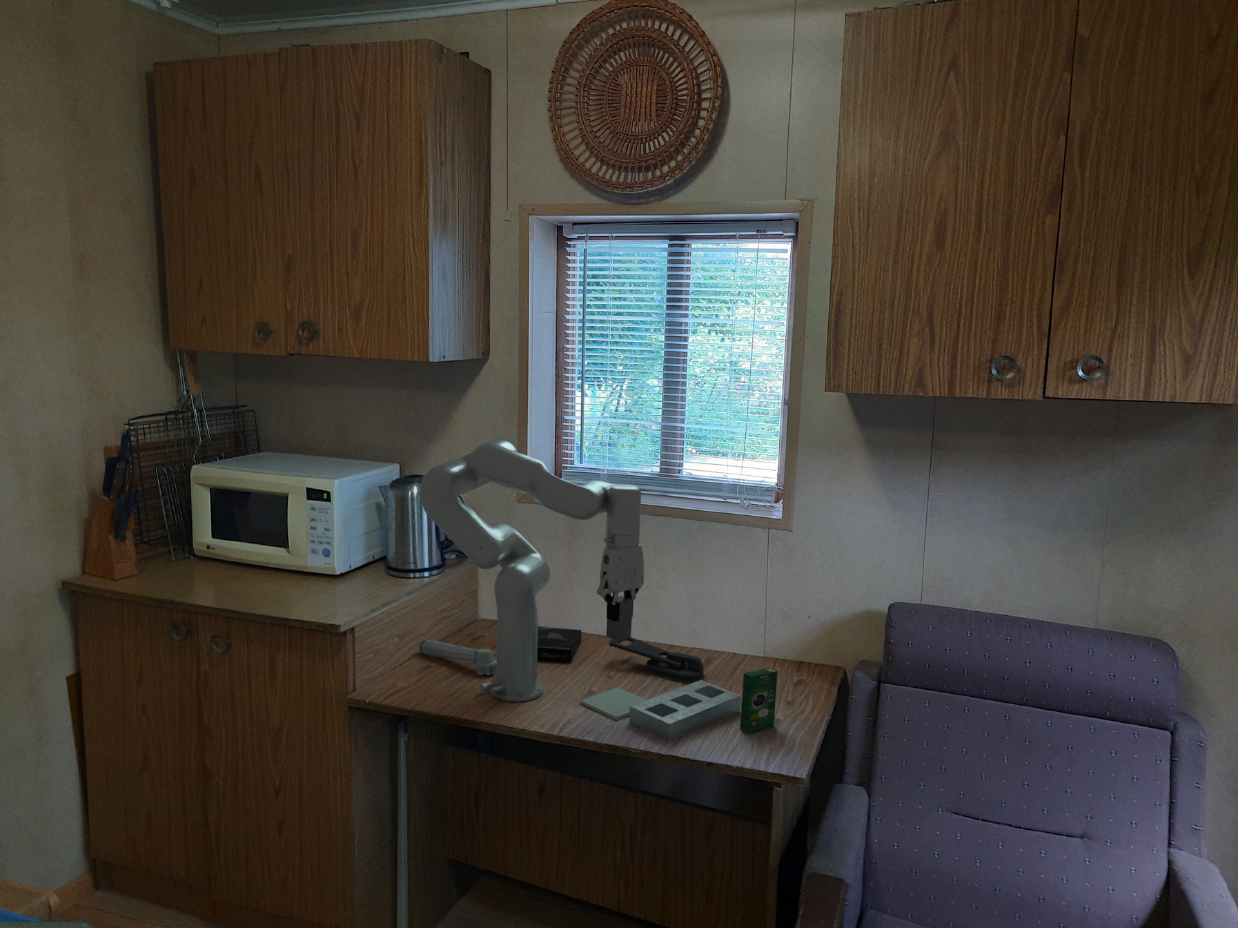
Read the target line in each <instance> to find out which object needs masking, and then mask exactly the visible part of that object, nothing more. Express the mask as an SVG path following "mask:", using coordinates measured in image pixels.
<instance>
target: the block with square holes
mask: <svg viewBox="0 0 1238 928" xmlns="http://www.w3.org/2000/svg"><path fill="white" fill-rule="evenodd" d="M741 706H742V695H741V694H739V693H736V692H734V691H731V690H729V689H726V688H723V687H721V686H719V685H715V684H713V683H710V682H707V681H704V680H703V679H701V680H700V681H697V682H694V683H688V684H686V685H683V686H681V687H678V688H676V689H672V690H670V691H668V692H665V693H662V694H660V695H656V696H654V697H651V698H648V699H646V700H645V701H643V702H640V703H637V704H635V705H632V706H630V711H629V716H628V717H629V718H628V724H629V725H630V726H631V725H632V726H633V725H634V726H633V727H635V726H636V728H638V729H640V728H642V729H643V731H644V730H646V731H647V733H648V732H650V733H649V734H651V733H652V734H651V735H653V734H654V735H653V736H655V735H656V736H655V737H657V736H658V737H657V738H659V737H661V738H662V739H661V738H660V739H661V740H664V739H665V740H664V741H666V742H668V741H670V742H672V741H674V739H675V740H678V739H680V738H681V737H683V736H687V735H689V734H691V733H694V732H696V731H698V730H701V729H703V728H705V727H708V726H709V725H712V724H714V723H717V722H719V721H722V720H724V719H726V718H729V717H731V716H734V715H736V714H738V713H741ZM642 729H641V730H642ZM646 731H645V732H646Z"/></svg>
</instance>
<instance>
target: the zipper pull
mask: <svg viewBox="0 0 1238 928" xmlns="http://www.w3.org/2000/svg"><path fill="white" fill-rule="evenodd" d="M625 641H627V642H630V643H629V644H628V645H626V644H625V645H624V644H621V643H622V642H625ZM608 645H609V646H610V647H613V648H615V649H619V650H621V651H626V652H628V653H631V654H635V655H638V656H641V657H645V658H648V660H647V661H646V667H645V668H646V673H647V674H648V675H651V676H656V677H660V678H663V679H667V680H671V681H676V682H680V683H686V684H692V683H694V682H697V681H700V680H703V678H704V669H705V668H704V667H705V666H704V665H703V661H702V660H701V658H700V657H698V656H695V655H690V654H685V653H681V652H677V651H675V652H674V651H669V650H668V651H667V650H666V649H663V648H660V647H658V646H655V645H652V644H649V643H647V642H645V641H642V640H639V639H636V638H634V637H632V636H631V638H628V639H625V640H621V641H616V640H614V639H611V638H610V640H609V642H608ZM662 656H666V657H662Z"/></svg>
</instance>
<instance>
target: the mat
mask: <svg viewBox="0 0 1238 928" xmlns="http://www.w3.org/2000/svg"><path fill="white" fill-rule="evenodd" d="M645 700H647V699H646V698H644V697H641V696H639V695H636V694H634V693H631V692H629V691H628V690H624V689H622V688H620V687H616V688H613V689H610V690H607V691H604V692H602V693H599V694H596V695H593V696H590V697H587V698H584V699H581V700H580V704H581V705H583V706H585V707H586V708H589V709H591V710H593V711H595V712H597V713H599V714H602V715H603V716H606V717H609V718H610V719H613V720H614V719H615V720H614V721H618V719H619V720H621V719H624V718H627V717H629V711H630V706H632V705H635V704H637V703H640V702H643V701H645Z"/></svg>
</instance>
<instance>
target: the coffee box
mask: <svg viewBox="0 0 1238 928" xmlns="http://www.w3.org/2000/svg"><path fill="white" fill-rule="evenodd" d="M777 682H778V670H776V669H774V668H771V667H766V668H762V669H758V670H752V671H747V672H743V680H742V695H741V706H740V723H739V724H740V725H739V726H740V727H739V729H740V731H741V732H743V733H745V734H750V733H755V732H757V731H761V730H765V729H769V728H771V727H774V726H775V712H776V700H777V697H776V696H777V684H778V683H777Z"/></svg>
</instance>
